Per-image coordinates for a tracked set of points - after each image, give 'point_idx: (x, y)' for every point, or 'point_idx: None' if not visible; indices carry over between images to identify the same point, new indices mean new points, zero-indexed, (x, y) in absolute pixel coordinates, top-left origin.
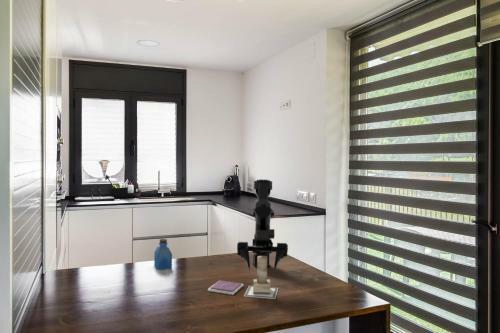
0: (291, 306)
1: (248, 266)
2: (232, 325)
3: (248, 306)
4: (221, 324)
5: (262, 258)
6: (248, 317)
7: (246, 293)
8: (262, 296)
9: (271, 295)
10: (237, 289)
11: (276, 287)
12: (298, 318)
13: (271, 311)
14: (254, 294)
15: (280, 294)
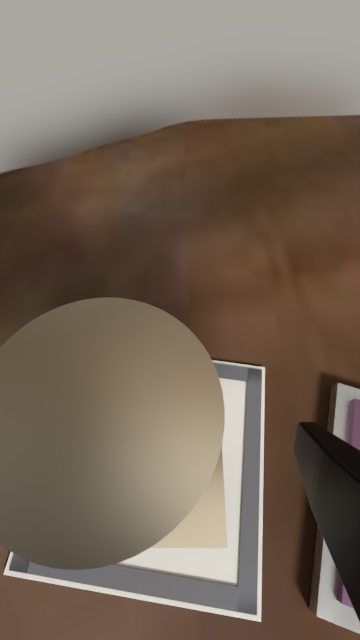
0: (18, 261)
1: (330, 432)
2: (257, 130)
3: (221, 250)
4: (292, 133)
5: (107, 297)
6: (212, 171)
7: (254, 403)
8: None
9: None
10: None
11: (18, 572)
12: (29, 172)
13: (121, 214)
14: None
15: None
